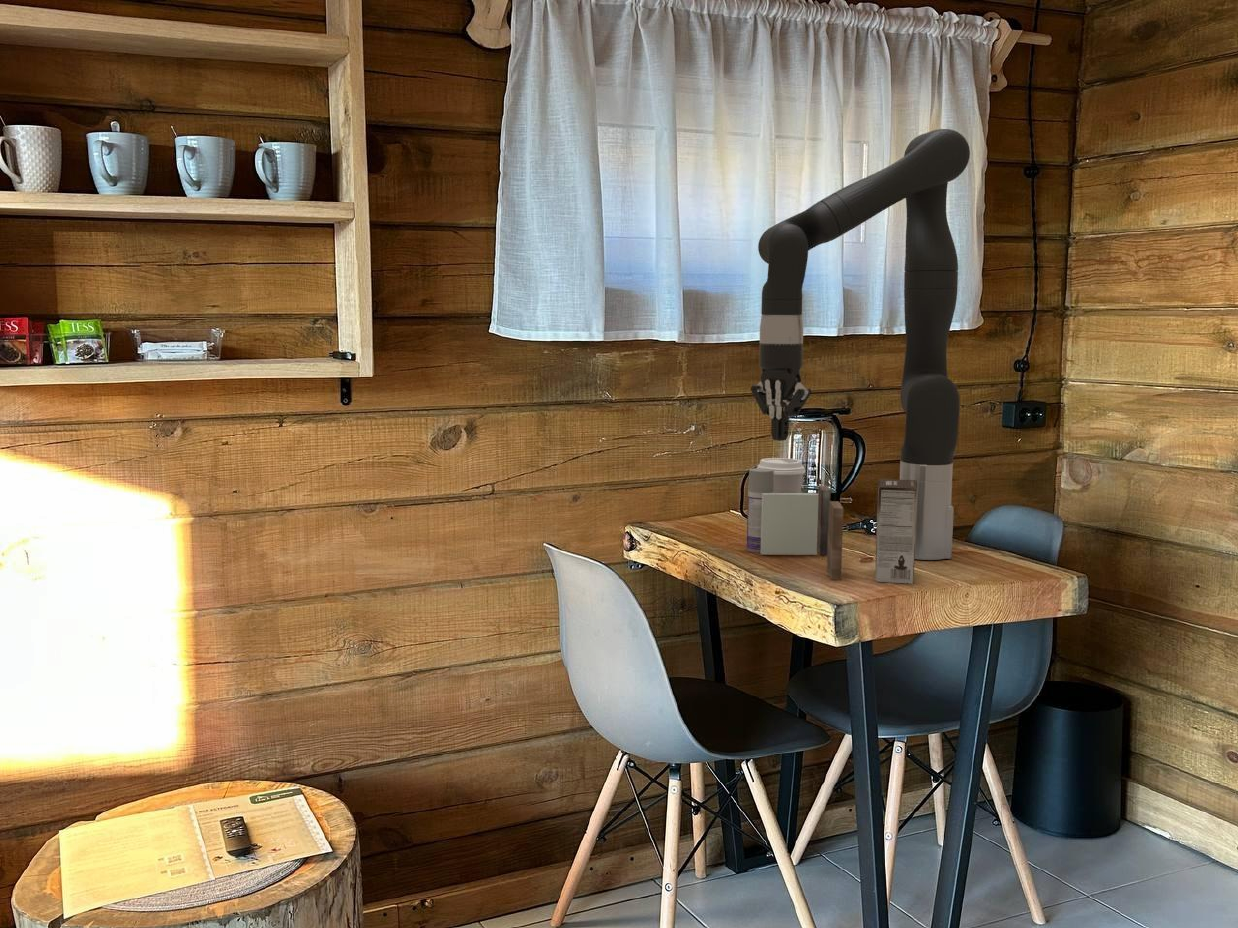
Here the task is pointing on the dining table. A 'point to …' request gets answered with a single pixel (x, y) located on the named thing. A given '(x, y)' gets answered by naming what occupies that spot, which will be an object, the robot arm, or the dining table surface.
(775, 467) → the coffee cup
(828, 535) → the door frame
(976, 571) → the dining table surface
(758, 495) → the container
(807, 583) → the dining table surface
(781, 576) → the dining table surface
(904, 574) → the coffee box
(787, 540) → the door leaf
